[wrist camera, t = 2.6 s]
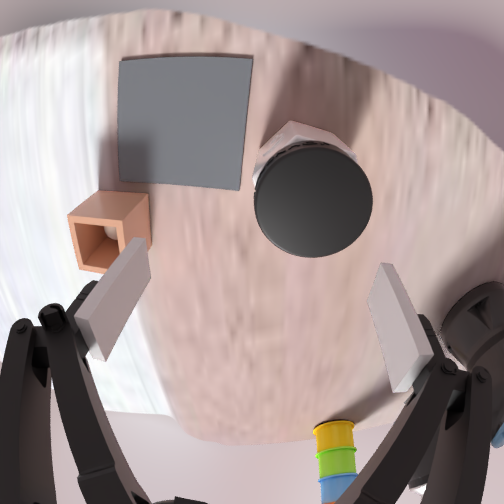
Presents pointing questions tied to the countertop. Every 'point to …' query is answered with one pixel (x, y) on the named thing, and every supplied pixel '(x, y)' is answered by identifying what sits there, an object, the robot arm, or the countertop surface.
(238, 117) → the mat
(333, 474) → the stacking cups
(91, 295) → the robot arm
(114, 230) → the ball
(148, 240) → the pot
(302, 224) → the jar
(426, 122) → the countertop surface
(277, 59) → the countertop surface
